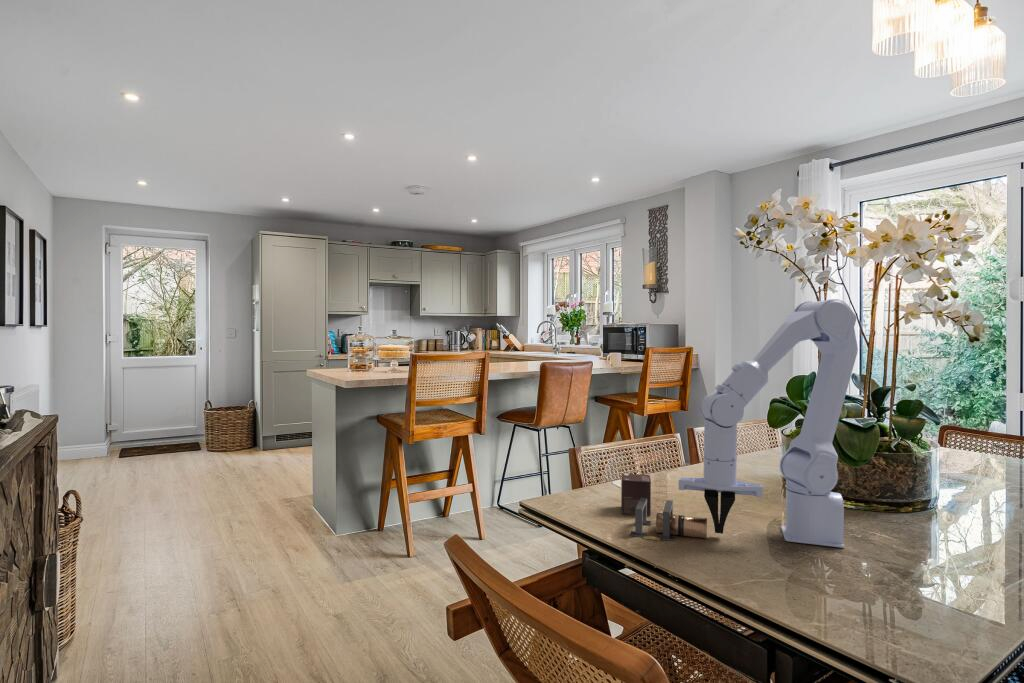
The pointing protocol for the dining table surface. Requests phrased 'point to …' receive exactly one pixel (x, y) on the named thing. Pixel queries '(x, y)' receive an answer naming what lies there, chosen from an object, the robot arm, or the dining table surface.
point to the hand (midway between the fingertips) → (719, 531)
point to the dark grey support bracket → (667, 522)
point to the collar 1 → (640, 518)
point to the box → (635, 492)
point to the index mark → (651, 538)
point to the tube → (684, 525)
